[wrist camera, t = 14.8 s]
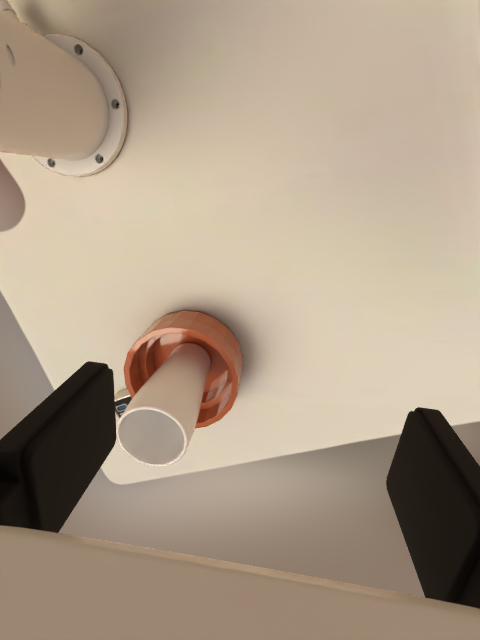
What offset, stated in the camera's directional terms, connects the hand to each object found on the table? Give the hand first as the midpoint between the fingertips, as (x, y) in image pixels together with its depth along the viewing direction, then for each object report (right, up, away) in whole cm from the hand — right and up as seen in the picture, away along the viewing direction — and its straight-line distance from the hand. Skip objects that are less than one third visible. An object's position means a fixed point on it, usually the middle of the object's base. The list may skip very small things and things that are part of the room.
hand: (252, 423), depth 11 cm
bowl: (-7, -2, +34) cm, 35 cm away
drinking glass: (-7, -2, +34) cm, 34 cm away
